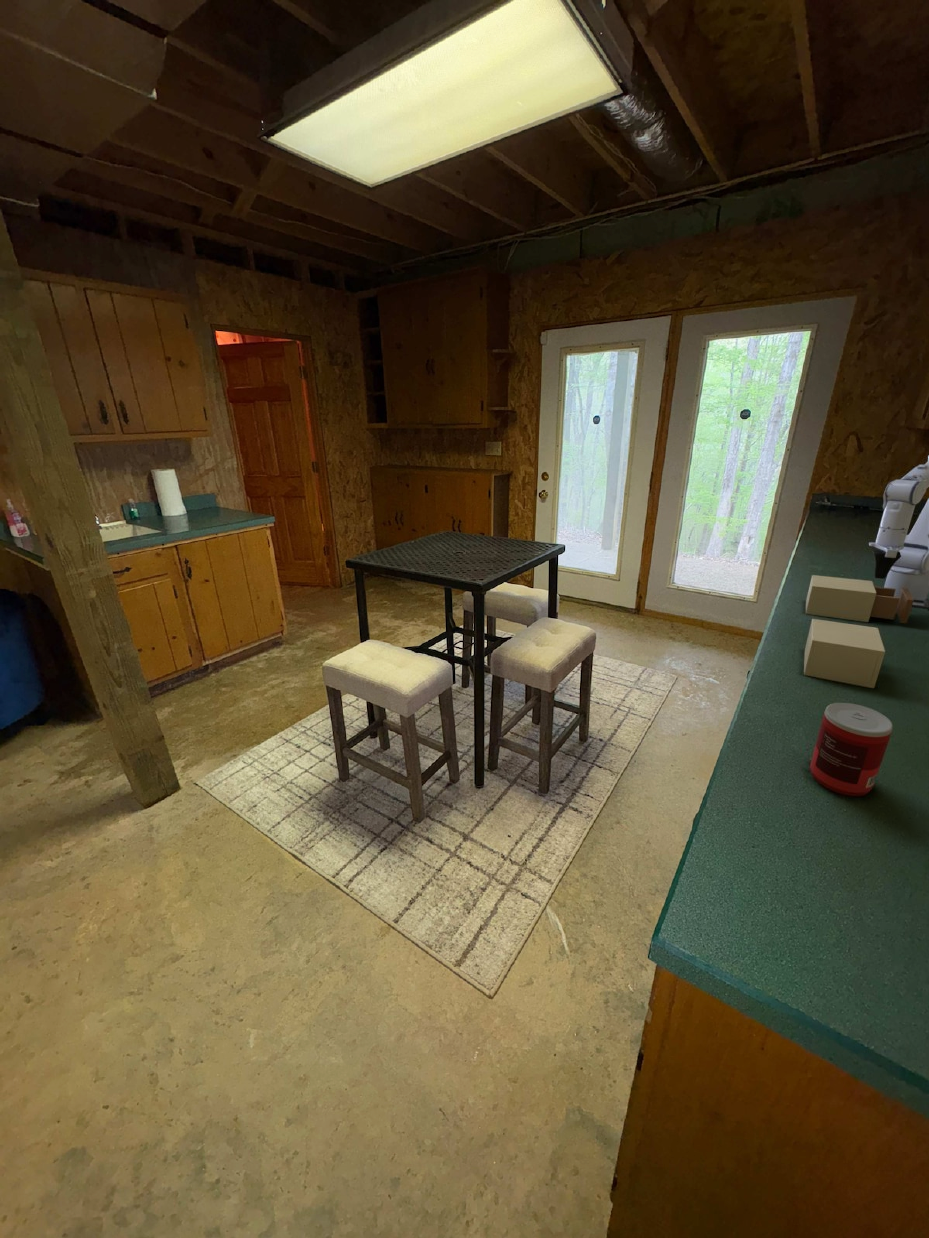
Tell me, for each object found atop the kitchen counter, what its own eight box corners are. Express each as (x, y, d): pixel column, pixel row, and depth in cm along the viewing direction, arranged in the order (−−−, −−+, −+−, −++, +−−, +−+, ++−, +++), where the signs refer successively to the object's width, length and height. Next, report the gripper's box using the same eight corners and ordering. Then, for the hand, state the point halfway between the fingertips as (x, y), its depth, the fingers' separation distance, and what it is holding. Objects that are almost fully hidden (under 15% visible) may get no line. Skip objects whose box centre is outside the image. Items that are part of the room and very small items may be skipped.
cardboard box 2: (804, 650, 112) (812, 618, 109) (867, 661, 106) (877, 627, 103) (803, 675, 102) (812, 640, 99) (874, 688, 96) (885, 651, 93)
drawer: (923, 613, 128) (931, 591, 125) (931, 626, 120) (939, 602, 118) (843, 603, 137) (848, 582, 135) (845, 615, 129) (851, 592, 127)
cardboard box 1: (864, 608, 135) (872, 581, 132) (868, 622, 126) (876, 593, 123) (806, 601, 142) (812, 575, 139) (805, 613, 133) (812, 585, 130)
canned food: (859, 767, 75) (879, 705, 71) (882, 802, 68) (905, 737, 64) (802, 758, 77) (817, 698, 73) (817, 792, 70) (836, 728, 66)
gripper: (871, 522, 133) (858, 569, 138) (877, 531, 122) (862, 582, 127) (905, 523, 129) (890, 572, 134) (913, 533, 118) (897, 586, 123)
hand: (879, 577), depth 130 cm, fingers closed
